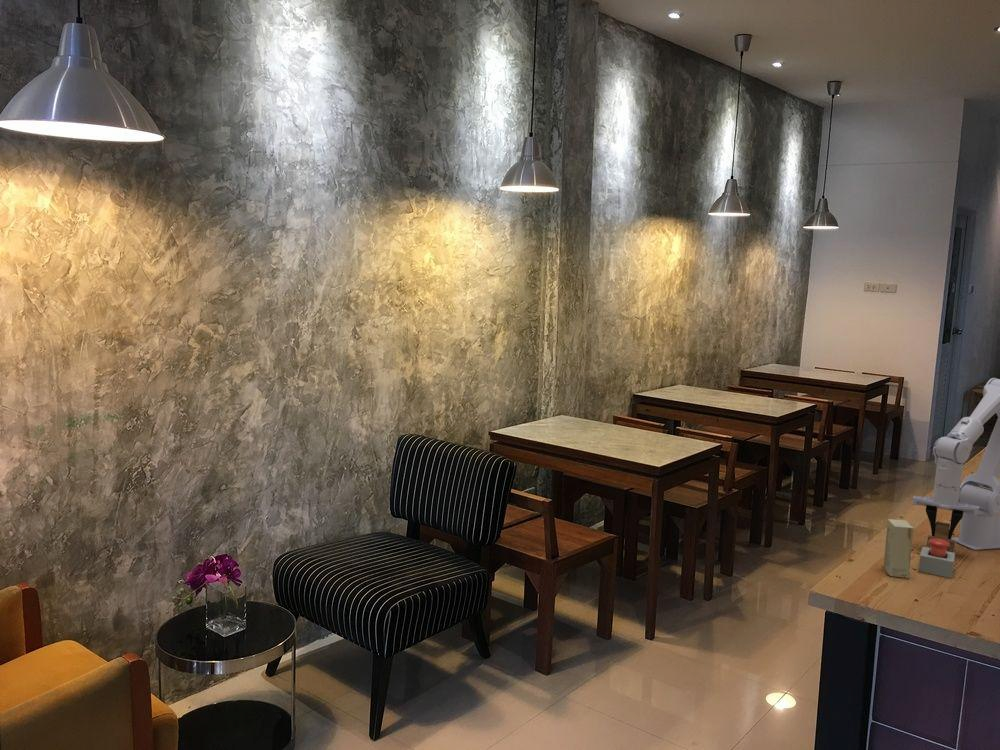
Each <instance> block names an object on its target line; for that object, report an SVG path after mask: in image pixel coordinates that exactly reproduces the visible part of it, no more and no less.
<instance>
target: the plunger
mask: <svg viewBox="0 0 1000 750" xmlns="http://www.w3.org/2000/svg"><path fill="white" fill-rule="evenodd" d="M929 544H931V547H929V548H930V555H931V556H936V557H941V558H946V551H947V547H949V546H950V542H948V541H946V540H943V539H938V538H931V539H929Z"/></svg>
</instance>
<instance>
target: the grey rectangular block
mask: <svg viewBox="0 0 1000 750" xmlns="http://www.w3.org/2000/svg"><path fill="white" fill-rule="evenodd" d="M955 558H956V552H954V551H950V552H947V551H946V558H941V557H936V556H931V555H930V547H927V546H922V547H921V551H920V557H919V565H918V572H919V571H921V572H920V573H923V572H925V574H928V573H929V574H930V575H934V576H939V577H945V578H948V579H953V573H954V567H955ZM929 574H928V575H929Z"/></svg>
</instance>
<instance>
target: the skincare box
mask: <svg viewBox="0 0 1000 750" xmlns="http://www.w3.org/2000/svg"><path fill="white" fill-rule="evenodd" d="M914 530H915V529H914V526H912V524H910V522H908V520H903V519H892V518H891V519H890V518H888V519H887V524H886V535H885V543H884V544H885V545H884V557H883V565H882V566H883V567H884V568H883V569H884V571H885V572H886V574H888V576H890V577H895V578H897V577H899V578H904V577H905V578H906V579H909V577H910V569H911V558H912V557H911V555H912V547H913V537H914Z"/></svg>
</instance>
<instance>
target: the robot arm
mask: <svg viewBox="0 0 1000 750" xmlns="http://www.w3.org/2000/svg"><path fill="white" fill-rule="evenodd" d="M982 395H983V397H982V399H981V400H980V401H979V403H978V404H977V406H976V407H975V408H974V410H973V411H972V413H971V414H970V416H964V417H962V418H961V419H960V420H959V421H958V422H957V424H956V425H955V426H954V427H953V428H952V429H951V431H950V432H949V433H948V434H947V435H946V436H942V437H940V438H939V437H938V439H937V440H935V442H934V444H933V445H934V446H933V448H932V453H933V454H932V455H933V456H934V465H936V468H935V476H934V477H935V478H934V486H933V494H932V496H933V497H928V496H918V495H913V497H912V505H913V506H923V507H925V513H926V515H927V518H928V521H929V525H930V529H931V536H935V528H936V522H937V517H938V516H937V515H938V509H941V510H946V511H951V515H950V523H949V524H950V528H949V535H948V539H950V540H951V539H952V540H955V543H958V544H960V545H962V546H964V547H966V548H969V549H970V550H973V551H977V550H979V551H980V550H991V549H992V550H993V549H1000V378H997V377H991V378H989V380H988V381H987V382H986V384H985V385H984V386H983V391H982ZM995 414H996V416H997V420H996V422H995V425H994V427H993V430H992V432H991V434H990V437H989V440H988V442H987V444H986V447H985V450H984V453H983V456H982V458H981V460H980V463H979V465H978V468H977V471H976V472H974V473H971V474H969V475H966V476H965V477H964V478H963V480H962V477H963V468H964V463H965V462H966V461H968V459H969V458H970V455H971V451H972V450H973V445H974V444H975V442H977V440H978V439H979V438H980V436H982V434H983V433H984V432H985V430H984V429H985V428H984V425H985V423H987V422H988V421H989V420H990V419H991V418H992V417H993V416H994V415H995ZM959 523H960V526H959V536H955V537H952V536H953V534H954V532H955V529H956V527H957V526H958V524H959Z"/></svg>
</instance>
